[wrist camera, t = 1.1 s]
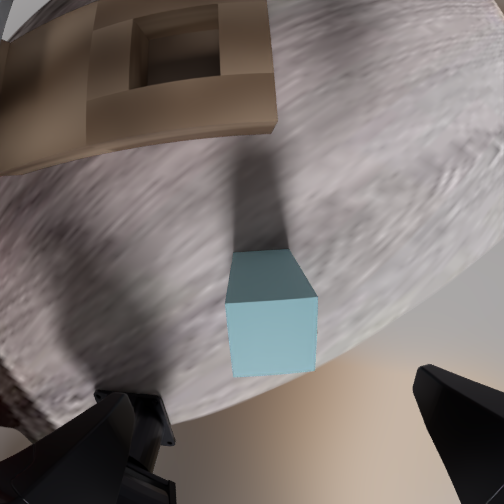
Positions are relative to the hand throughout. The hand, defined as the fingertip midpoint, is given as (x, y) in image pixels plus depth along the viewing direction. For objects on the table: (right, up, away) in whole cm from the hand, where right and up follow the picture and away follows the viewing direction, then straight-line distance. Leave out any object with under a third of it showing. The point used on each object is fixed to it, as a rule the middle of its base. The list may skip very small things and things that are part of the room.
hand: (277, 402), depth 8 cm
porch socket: (-9, +16, +8) cm, 20 cm away
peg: (0, +3, +12) cm, 12 cm away
